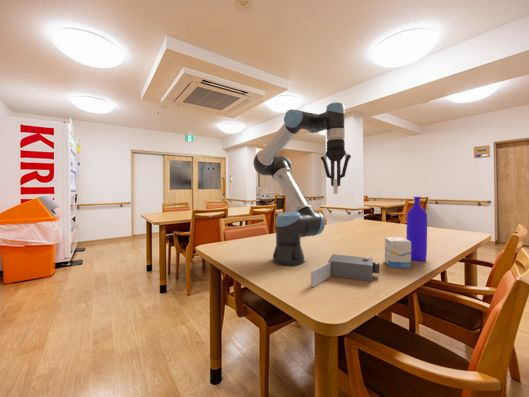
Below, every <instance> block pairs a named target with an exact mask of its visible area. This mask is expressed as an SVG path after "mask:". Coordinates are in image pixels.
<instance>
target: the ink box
mask: <svg viewBox="0 0 529 397" xmlns="http://www.w3.org/2000/svg"><path fill="white" fill-rule="evenodd" d="M384 262H385V264H386V265H388V266H389V267H390V268H399V269H400V268H401V269H411V268H412V260H411V241H409V240H407V238H405V237H398V236H397V237H395V236H391V237H390V236H389V237H384Z"/></svg>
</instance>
